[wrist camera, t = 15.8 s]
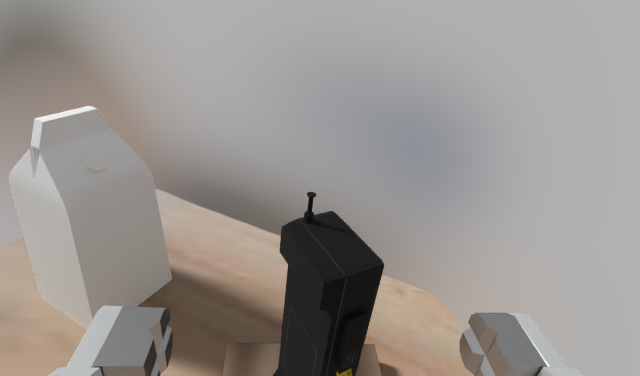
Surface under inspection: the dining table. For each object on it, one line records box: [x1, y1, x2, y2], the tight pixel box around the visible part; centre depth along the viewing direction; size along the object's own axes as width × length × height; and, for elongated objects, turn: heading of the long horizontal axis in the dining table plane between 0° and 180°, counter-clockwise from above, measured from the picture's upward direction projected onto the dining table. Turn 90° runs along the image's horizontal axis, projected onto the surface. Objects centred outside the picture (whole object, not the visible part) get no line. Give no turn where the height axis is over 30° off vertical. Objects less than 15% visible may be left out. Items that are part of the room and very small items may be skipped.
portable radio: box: [273, 192, 384, 376], centre depth 31 cm, size 8×6×25 cm
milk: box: [9, 106, 172, 330], centre depth 46 cm, size 12×12×26 cm
